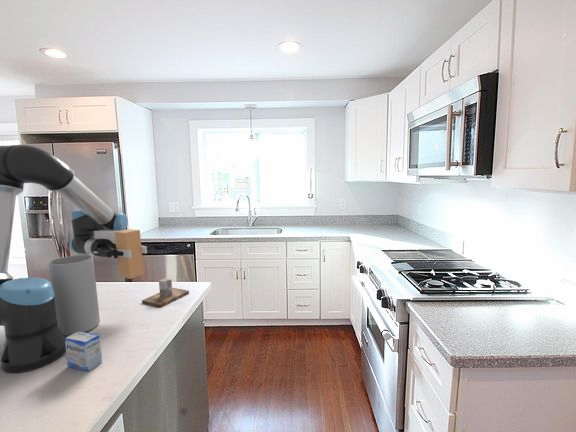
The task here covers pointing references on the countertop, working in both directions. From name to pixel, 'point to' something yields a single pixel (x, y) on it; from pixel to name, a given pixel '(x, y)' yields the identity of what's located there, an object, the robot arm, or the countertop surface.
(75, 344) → the medicine box
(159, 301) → the post board
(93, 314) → the cylinder vase
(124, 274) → the tall wooden block
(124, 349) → the countertop surface
